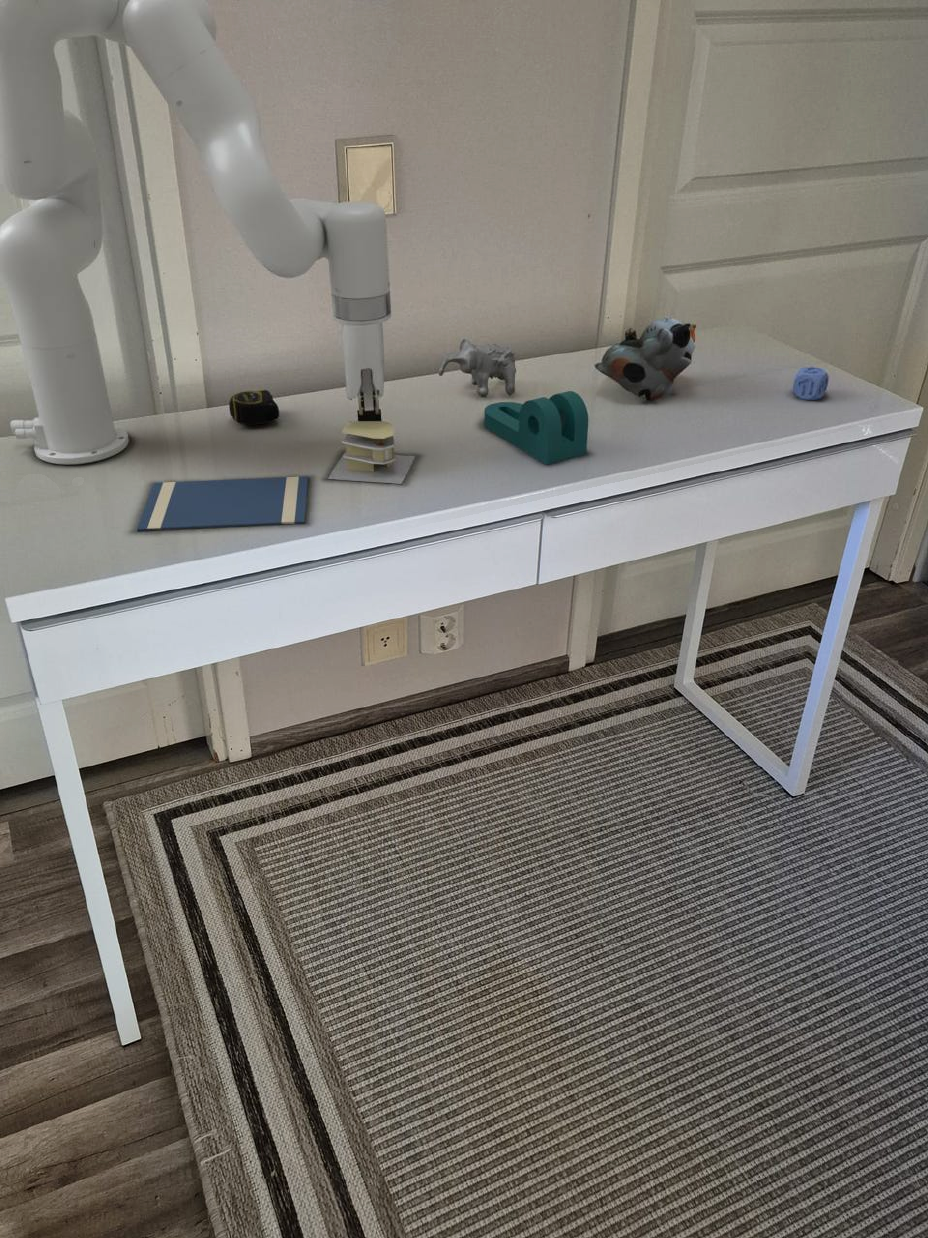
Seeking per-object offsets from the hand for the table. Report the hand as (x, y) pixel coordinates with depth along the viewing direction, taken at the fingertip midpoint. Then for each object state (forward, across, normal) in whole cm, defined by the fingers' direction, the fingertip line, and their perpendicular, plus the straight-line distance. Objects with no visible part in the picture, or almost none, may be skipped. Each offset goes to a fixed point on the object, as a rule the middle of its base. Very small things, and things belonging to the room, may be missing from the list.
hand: (371, 438), depth 142 cm
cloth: (+2, +14, -19) cm, 23 cm away
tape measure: (+2, -14, -16) cm, 22 cm away
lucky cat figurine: (+3, -20, +44) cm, 48 cm away
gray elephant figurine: (+2, -22, +18) cm, 28 cm away
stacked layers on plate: (+2, +5, 0) cm, 6 cm away
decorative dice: (+3, -14, +69) cm, 70 cm away
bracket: (+2, -2, +23) cm, 23 cm away
